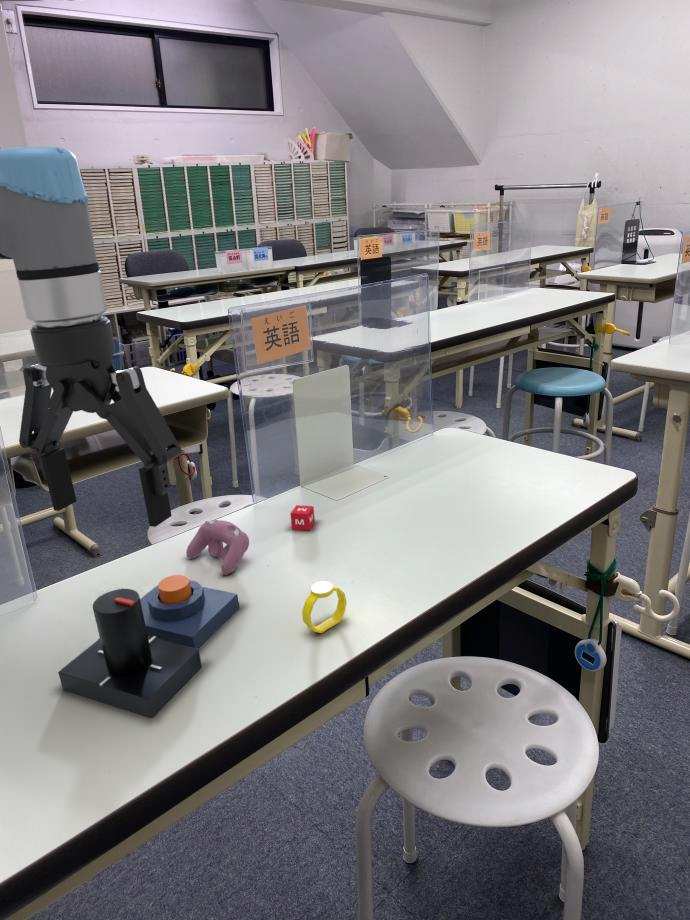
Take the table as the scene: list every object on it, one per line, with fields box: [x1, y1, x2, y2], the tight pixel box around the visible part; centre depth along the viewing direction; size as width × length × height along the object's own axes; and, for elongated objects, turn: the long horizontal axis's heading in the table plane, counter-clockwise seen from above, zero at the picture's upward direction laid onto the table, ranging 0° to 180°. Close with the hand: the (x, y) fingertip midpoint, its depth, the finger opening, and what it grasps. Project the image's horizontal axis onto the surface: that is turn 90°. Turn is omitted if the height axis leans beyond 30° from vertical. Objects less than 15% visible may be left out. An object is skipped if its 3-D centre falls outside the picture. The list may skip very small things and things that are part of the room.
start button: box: [157, 574, 192, 604], centre depth 88 cm, size 4×4×2 cm
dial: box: [92, 588, 151, 674], centre depth 77 cm, size 5×5×8 cm
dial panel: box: [57, 636, 203, 719], centre depth 79 cm, size 13×9×3 cm
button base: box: [140, 579, 240, 649], centre depth 89 cm, size 12×10×4 cm
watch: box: [301, 580, 348, 634], centre depth 85 cm, size 6×3×6 cm, turn 129°
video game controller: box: [186, 519, 250, 576], centre depth 103 cm, size 10×5×7 cm, turn 49°
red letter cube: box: [290, 504, 316, 532], centre depth 112 cm, size 3×3×3 cm
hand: (111, 513), depth 75 cm, fingers open, 13 cm apart
